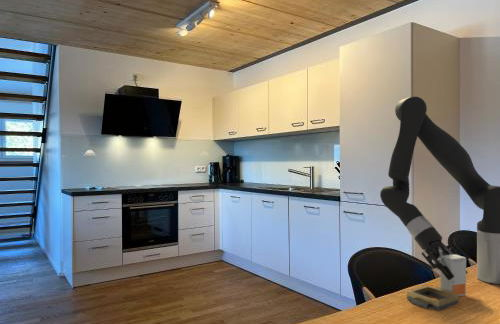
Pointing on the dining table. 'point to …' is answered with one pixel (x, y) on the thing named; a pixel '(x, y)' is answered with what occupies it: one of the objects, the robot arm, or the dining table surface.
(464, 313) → the dining table surface
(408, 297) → the beige grey rectangular frame
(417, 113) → the robot arm
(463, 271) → the skincare box
